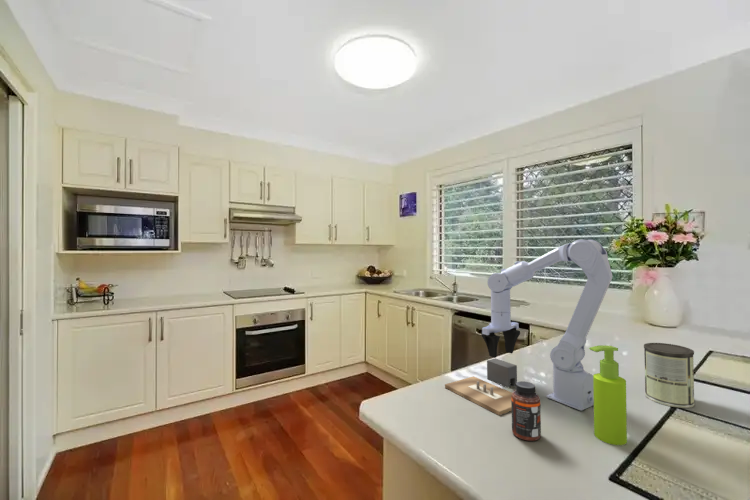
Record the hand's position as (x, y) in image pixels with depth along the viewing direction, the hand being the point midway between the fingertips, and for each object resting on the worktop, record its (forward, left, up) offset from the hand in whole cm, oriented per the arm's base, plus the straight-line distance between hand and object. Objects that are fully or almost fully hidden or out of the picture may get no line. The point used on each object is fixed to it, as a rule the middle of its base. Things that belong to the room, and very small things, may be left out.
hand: (501, 354), depth 105 cm
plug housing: (0, 0, -9) cm, 9 cm away
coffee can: (-32, -28, -9) cm, 43 cm away
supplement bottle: (-23, +20, -9) cm, 32 cm away
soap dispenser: (-33, +6, -9) cm, 35 cm away
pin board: (-4, +12, -8) cm, 15 cm away
